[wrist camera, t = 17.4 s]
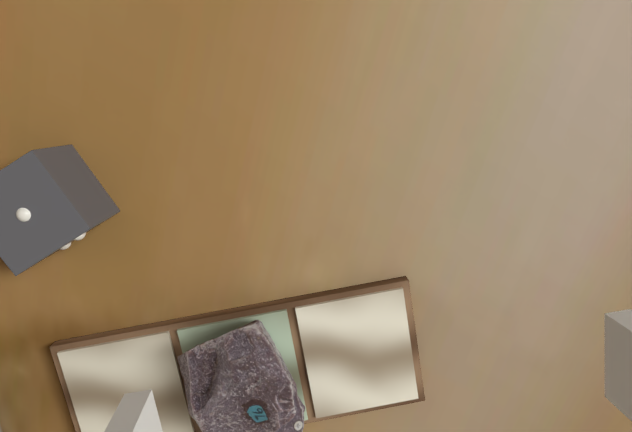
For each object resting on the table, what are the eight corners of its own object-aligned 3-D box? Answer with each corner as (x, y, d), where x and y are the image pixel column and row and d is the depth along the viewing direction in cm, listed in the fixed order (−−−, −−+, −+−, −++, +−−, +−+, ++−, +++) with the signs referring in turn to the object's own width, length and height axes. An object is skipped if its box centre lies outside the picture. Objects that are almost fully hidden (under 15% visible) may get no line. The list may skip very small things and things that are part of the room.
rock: (233, 455, 41) (228, 497, 37) (169, 343, 39) (154, 373, 34) (321, 416, 41) (326, 452, 36) (261, 300, 39) (259, 324, 34)
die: (7, 186, 37) (-49, 200, 31) (72, 144, 36) (29, 150, 30) (59, 253, 38) (15, 280, 32) (122, 213, 38) (91, 232, 32)
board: (55, 341, 39) (47, 348, 38) (405, 276, 40) (409, 281, 39) (91, 457, 42) (85, 468, 40) (421, 393, 43) (426, 402, 41)
